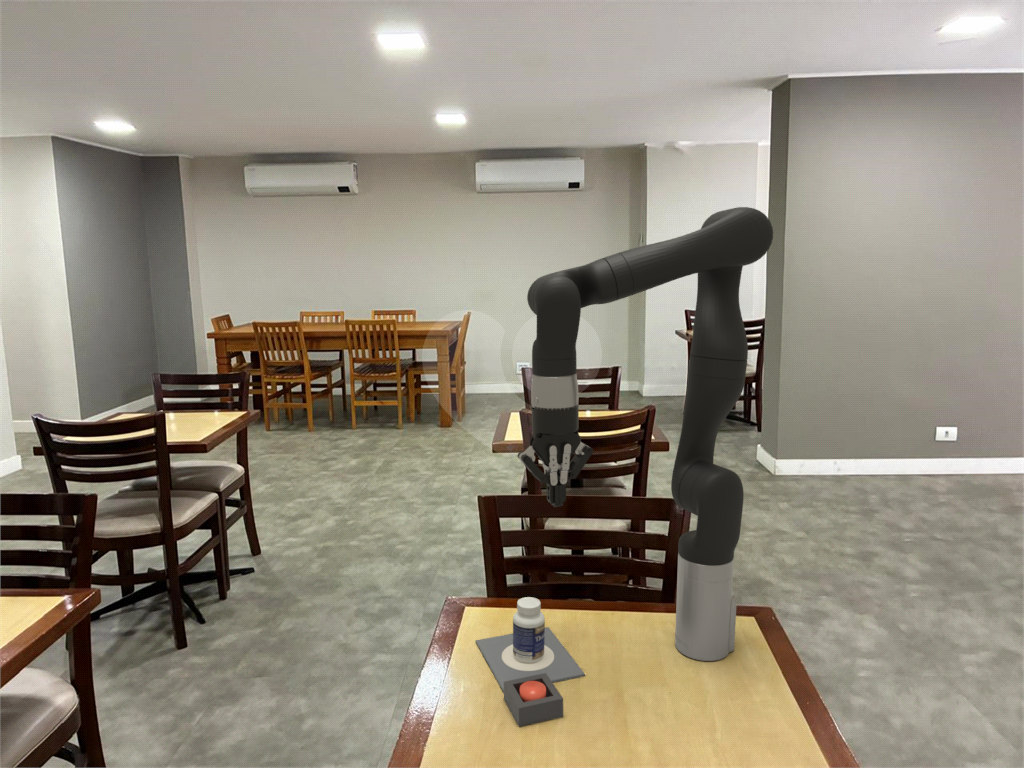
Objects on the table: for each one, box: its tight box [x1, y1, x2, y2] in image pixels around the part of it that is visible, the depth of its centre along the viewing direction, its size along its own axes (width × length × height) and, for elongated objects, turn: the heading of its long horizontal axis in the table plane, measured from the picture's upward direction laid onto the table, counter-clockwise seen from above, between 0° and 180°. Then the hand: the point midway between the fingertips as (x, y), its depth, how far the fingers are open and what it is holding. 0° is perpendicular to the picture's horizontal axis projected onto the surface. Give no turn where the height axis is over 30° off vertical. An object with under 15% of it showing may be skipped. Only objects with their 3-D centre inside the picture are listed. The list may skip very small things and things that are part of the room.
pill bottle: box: [512, 596, 546, 663], centre depth 119 cm, size 5×5×10 cm
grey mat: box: [475, 626, 586, 694], centre depth 120 cm, size 14×16×1 cm
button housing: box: [503, 673, 564, 728], centre depth 107 cm, size 7×7×3 cm
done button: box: [520, 681, 546, 702], centre depth 107 cm, size 4×4×2 cm
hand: (556, 504), depth 115 cm, fingers closed
